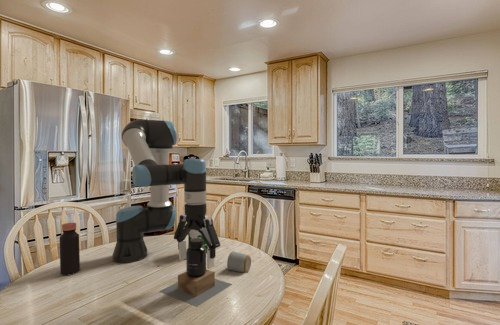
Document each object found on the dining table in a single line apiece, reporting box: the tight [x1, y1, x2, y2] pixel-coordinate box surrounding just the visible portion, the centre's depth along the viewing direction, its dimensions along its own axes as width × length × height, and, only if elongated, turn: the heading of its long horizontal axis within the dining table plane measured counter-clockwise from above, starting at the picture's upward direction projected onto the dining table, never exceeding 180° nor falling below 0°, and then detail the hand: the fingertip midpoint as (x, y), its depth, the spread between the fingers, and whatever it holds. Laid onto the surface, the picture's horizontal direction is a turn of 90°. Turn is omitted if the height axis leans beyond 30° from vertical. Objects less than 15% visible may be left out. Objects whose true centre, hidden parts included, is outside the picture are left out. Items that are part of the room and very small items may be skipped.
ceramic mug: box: [226, 250, 252, 274], centre depth 117 cm, size 11×8×8 cm
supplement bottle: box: [185, 238, 207, 277], centre depth 99 cm, size 7×7×12 cm
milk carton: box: [187, 215, 210, 254], centre depth 138 cm, size 9×9×20 cm
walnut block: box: [177, 269, 216, 296], centre depth 100 cm, size 9×9×5 cm
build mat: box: [158, 278, 233, 307], centre depth 100 cm, size 18×18×1 cm
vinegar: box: [59, 222, 81, 276], centre depth 116 cm, size 7×7×20 cm
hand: (196, 263), depth 99 cm, fingers open, 13 cm apart
